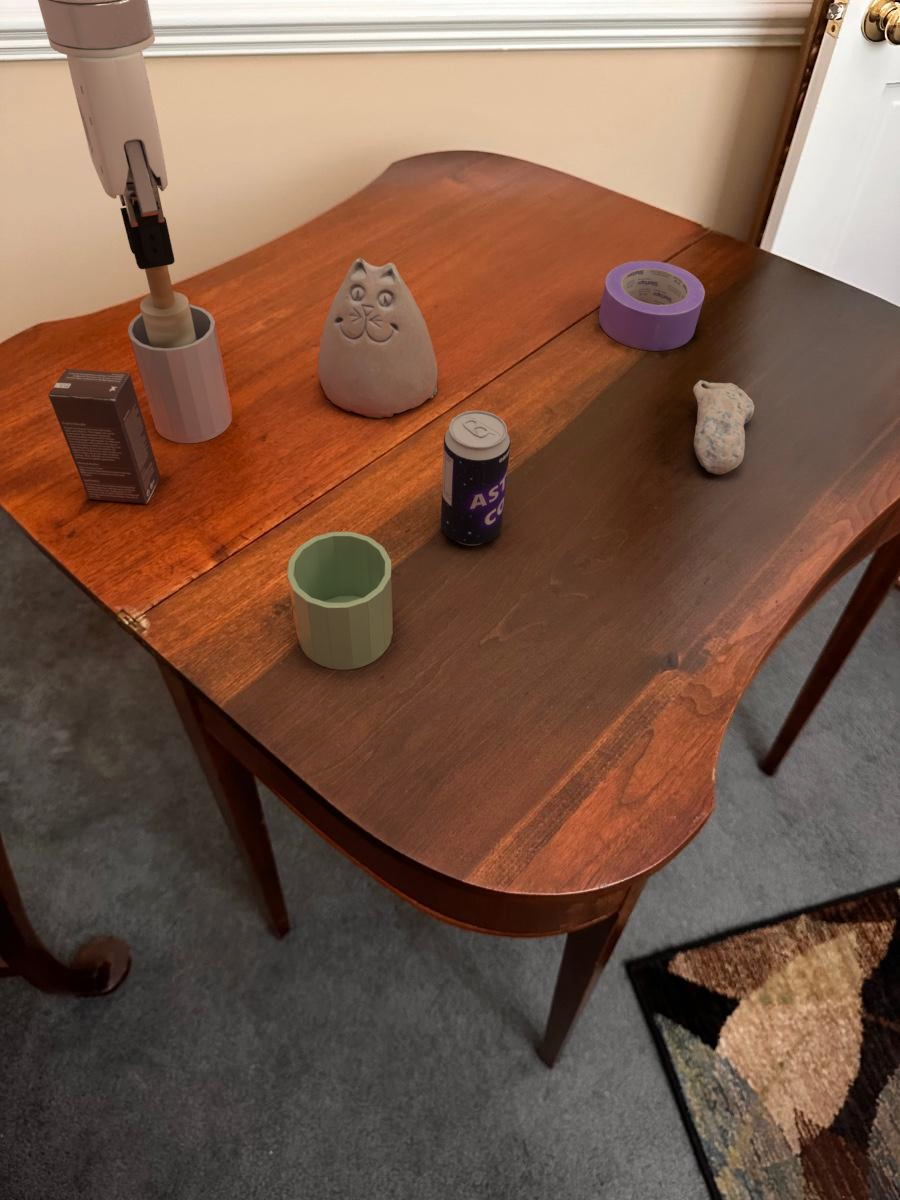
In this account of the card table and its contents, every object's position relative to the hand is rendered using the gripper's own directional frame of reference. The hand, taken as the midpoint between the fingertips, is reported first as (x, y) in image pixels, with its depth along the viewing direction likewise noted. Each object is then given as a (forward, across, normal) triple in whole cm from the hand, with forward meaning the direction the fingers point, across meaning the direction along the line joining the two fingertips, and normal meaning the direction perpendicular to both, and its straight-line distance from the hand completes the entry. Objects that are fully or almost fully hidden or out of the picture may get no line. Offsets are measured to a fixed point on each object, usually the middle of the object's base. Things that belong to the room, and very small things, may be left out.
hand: (152, 256), depth 77 cm
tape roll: (+18, +2, +55) cm, 58 cm away
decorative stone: (+18, +24, +50) cm, 59 cm away
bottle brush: (+11, 0, 0) cm, 11 cm away
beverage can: (+18, +26, +20) cm, 38 cm away
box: (+18, +8, -8) cm, 22 cm away
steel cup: (+18, 0, 0) cm, 18 cm away
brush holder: (+18, +33, +5) cm, 38 cm away
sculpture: (+18, +2, +20) cm, 27 cm away
